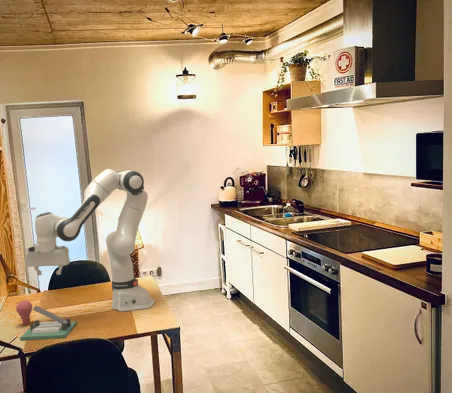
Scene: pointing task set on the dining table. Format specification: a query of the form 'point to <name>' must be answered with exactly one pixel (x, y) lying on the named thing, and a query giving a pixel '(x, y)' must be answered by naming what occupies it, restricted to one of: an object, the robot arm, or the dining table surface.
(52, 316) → the steel strap
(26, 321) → the light bulb
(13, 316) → the dining table surface
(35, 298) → the dining table surface
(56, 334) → the heat sink board
